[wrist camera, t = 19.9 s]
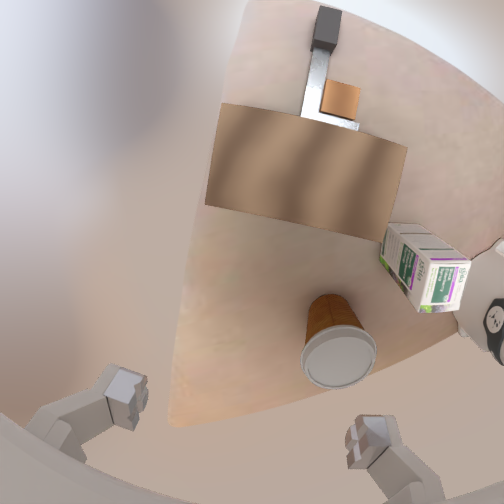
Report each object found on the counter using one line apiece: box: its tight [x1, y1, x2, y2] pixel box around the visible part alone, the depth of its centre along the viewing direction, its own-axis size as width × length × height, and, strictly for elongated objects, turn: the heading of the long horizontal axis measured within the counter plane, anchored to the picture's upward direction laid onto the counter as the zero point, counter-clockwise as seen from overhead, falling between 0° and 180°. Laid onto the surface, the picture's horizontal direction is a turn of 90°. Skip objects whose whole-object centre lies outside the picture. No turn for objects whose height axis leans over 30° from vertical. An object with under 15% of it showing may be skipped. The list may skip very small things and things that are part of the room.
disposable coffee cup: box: [300, 294, 377, 389], centre depth 38 cm, size 10×10×12 cm
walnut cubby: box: [205, 103, 408, 243], centre depth 32 cm, size 19×10×9 cm, turn 80°
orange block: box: [319, 79, 360, 121], centre depth 31 cm, size 4×4×4 cm
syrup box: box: [380, 223, 472, 313], centre depth 32 cm, size 6×6×14 cm
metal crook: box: [300, 6, 359, 131], centre depth 29 cm, size 7×16×5 cm, turn 170°
